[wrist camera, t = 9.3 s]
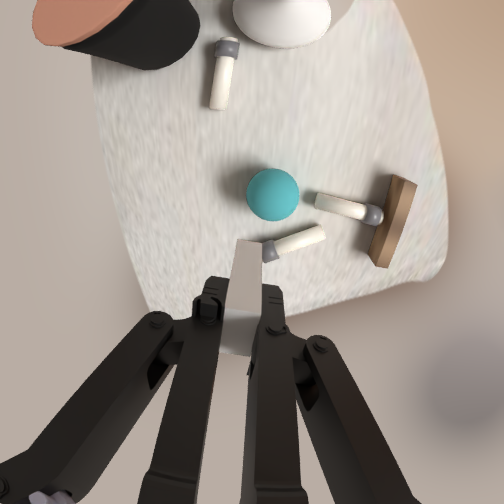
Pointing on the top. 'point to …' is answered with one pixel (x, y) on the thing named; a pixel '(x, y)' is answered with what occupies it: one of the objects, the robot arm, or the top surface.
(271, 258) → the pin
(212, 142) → the top surface
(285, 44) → the flower in vase
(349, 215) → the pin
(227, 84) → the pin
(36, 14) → the coffee jar
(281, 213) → the ball
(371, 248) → the back wall
